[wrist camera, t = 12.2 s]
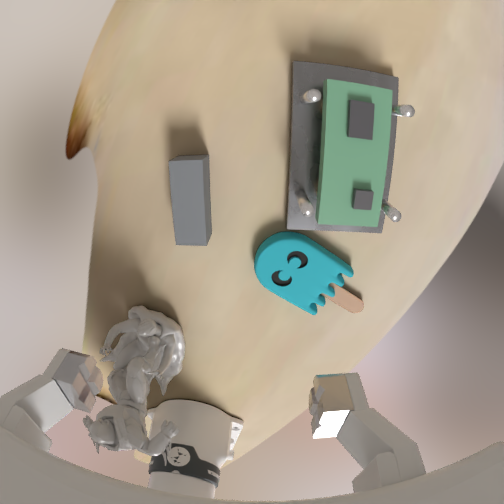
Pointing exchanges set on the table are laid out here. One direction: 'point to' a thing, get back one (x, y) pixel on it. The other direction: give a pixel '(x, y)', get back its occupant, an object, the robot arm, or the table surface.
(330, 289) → the toy
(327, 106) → the board
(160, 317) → the figurine
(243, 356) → the table surface
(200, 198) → the grey rectangular block
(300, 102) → the chassis
